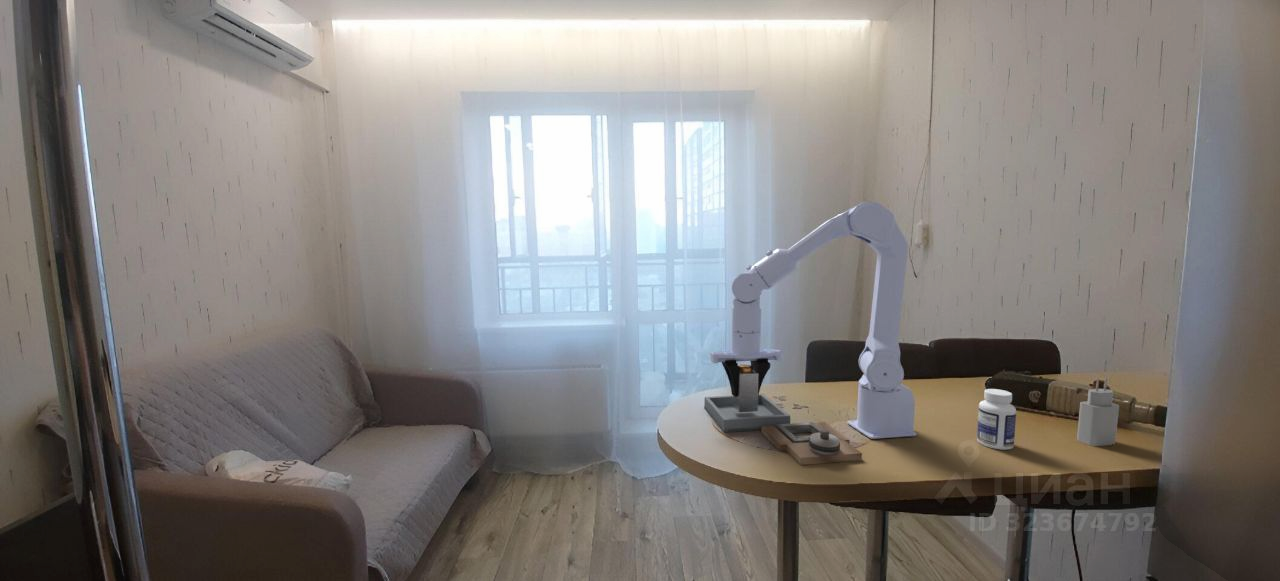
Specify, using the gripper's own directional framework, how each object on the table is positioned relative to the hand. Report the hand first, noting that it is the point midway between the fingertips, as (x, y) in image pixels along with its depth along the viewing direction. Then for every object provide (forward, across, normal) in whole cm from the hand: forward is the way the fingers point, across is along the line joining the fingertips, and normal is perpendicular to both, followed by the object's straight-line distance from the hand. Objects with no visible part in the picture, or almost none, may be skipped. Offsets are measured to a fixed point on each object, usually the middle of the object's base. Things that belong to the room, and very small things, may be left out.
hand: (745, 394), depth 98 cm
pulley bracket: (+5, -7, +14) cm, 17 cm away
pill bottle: (+5, -40, +20) cm, 45 cm away
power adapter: (+5, -59, +22) cm, 63 cm away
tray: (+5, 0, 0) cm, 5 cm away
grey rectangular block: (+3, 0, 0) cm, 3 cm away
